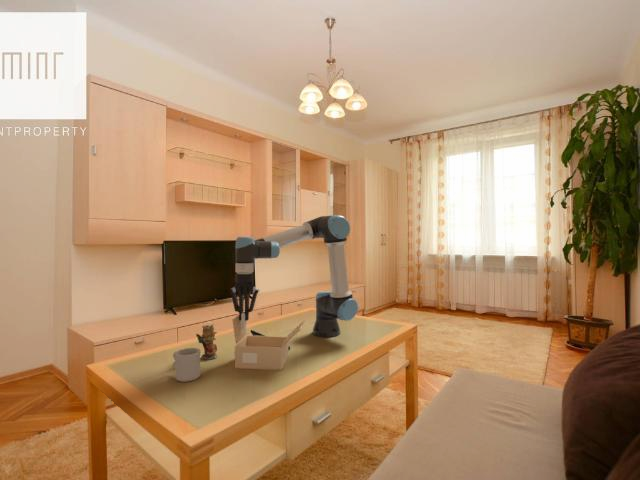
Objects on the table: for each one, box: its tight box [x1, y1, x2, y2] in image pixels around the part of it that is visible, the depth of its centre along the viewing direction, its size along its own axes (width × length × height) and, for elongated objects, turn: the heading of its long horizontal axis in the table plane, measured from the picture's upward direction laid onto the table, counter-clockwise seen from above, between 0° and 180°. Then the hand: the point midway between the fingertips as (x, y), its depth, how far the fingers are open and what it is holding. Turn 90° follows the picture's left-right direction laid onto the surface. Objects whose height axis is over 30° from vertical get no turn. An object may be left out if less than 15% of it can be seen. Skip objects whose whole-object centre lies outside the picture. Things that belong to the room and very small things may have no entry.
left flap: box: [231, 314, 248, 345], centre depth 144 cm, size 13×1×10 cm, turn 175°
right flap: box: [282, 320, 306, 346], centre depth 142 cm, size 13×1×10 cm
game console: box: [250, 329, 291, 351], centre depth 160 cm, size 16×14×9 cm
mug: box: [172, 347, 202, 383], centre depth 128 cm, size 12×9×10 cm
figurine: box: [196, 324, 218, 361], centre depth 148 cm, size 9×8×15 cm
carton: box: [234, 334, 289, 371], centre depth 143 cm, size 15×19×9 cm
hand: (243, 327), depth 143 cm, fingers closed
